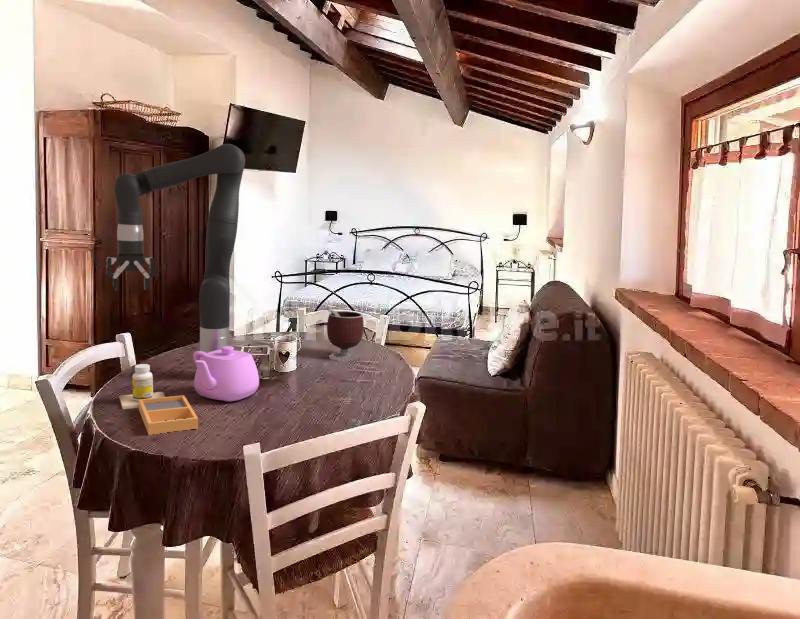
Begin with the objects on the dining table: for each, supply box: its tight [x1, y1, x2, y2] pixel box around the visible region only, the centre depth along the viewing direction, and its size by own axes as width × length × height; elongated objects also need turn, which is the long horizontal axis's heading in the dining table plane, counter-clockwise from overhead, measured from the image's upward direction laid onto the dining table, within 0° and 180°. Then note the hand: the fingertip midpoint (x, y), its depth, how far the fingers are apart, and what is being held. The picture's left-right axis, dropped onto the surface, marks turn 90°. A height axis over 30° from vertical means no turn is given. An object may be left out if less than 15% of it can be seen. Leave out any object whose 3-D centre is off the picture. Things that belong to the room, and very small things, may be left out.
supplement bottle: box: [131, 363, 154, 401], centre depth 182 cm, size 5×5×10 cm
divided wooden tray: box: [138, 394, 199, 436], centre depth 170 cm, size 12×20×3 cm, turn 29°
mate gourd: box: [326, 308, 365, 358], centre depth 243 cm, size 16×14×20 cm
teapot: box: [192, 345, 260, 403], centre depth 189 cm, size 23×21×15 cm
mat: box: [118, 391, 166, 410], centre depth 183 cm, size 12×10×1 cm
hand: (131, 289), depth 202 cm, fingers open, 8 cm apart
